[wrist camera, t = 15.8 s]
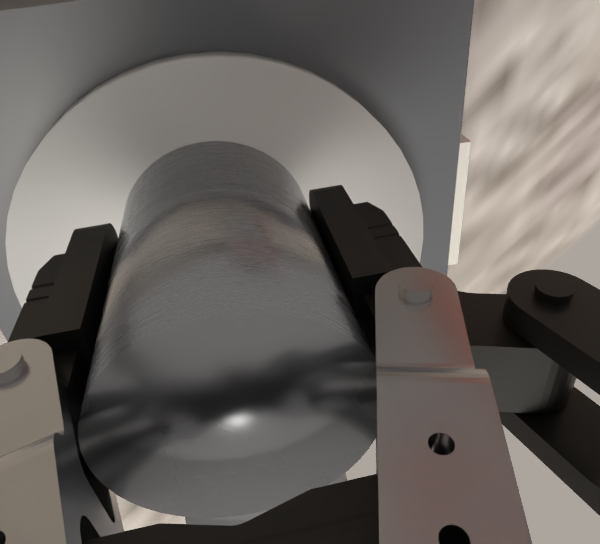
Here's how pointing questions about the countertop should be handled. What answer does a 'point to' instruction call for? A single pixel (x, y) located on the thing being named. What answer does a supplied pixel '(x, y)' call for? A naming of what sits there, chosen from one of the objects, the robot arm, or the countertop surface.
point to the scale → (228, 110)
